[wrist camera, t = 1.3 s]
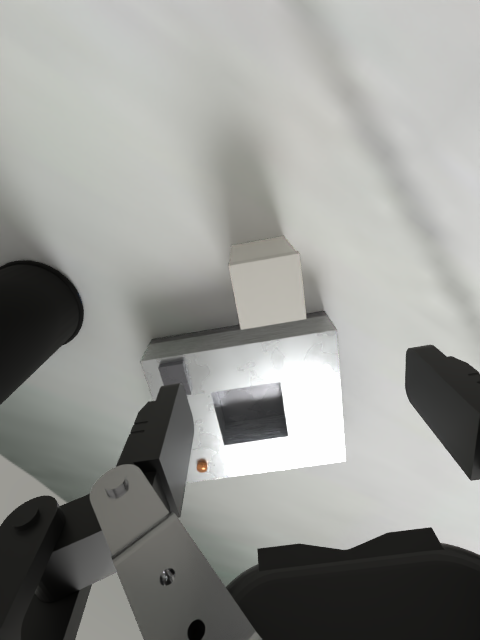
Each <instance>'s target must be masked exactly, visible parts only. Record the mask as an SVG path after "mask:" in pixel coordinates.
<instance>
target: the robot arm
mask: <svg viewBox="0 0 480 640" xmlns="http://www.w3.org/2000/svg"><path fill="white" fill-rule="evenodd" d="M405 389H406V393H407V397H408V399H409V401H410V403H411V404H412V405H413V407H414V408H415V409H416V411H417V412H418V413H419V414H420V416H421V417H422V418H423V420H424V421H425V422H426V424H427V425H428V426H429V427H430V429H431V430H432V431H433V433H434V434H435V435H436V436H437V438H438V439H439V440H440V442H441V443H442V444H443V445H444V447H445V448H446V449H447V451H448V452H449V453H450V454H451V456H452V457H453V458H454V460H455V461H456V462H457V463H458V465H459V466H460V467H461V469H462V470H463V471H464V472H465V474H466V475H467V476H468V478H469V479H470V480H479V479H480V374H479V372H478V371H477V370H475V369H474V368H473V367H472V366H470V365H469V364H468V363H466V362H463V361H461V360H459V359H457V358H454V357H452V356H450V357H447V356H445V355H444V354H443V353H442V352H441V351H439V350H438V349H437V348H436V347H435V346H433V345H426V346H420V347H413V348H409V349H408V350H407V352H406V373H405ZM130 433H131V434H130V435H129V437H128V439H127V442H126V444H125V446H124V449H123V451H122V454H121V456H120V458H119V461H118V463H117V466H116V467H115V468H112V469H111V470H109V471H107V472H106V473H104V474H103V475H102V476H101V477H100V478H99V479H98V480H97V481H96V482H95V484H94V485H93V487H92V489H91V492H90V494H88V495H86V496H84V497H81V498H79V499H76V500H74V501H71V502H69V503H66V504H64V505H62V506H59V504H58V503H57V501H56V500H55V498H53V497H51V496H40V497H36V498H33V499H31V500H29V501H27V502H25V503H24V504H22V505H20V506H19V507H18V508H16V509H15V510H14V511H13V512H12V513H11V514H10V515H9V516H8V517H7V518H6V519H5V520H4V522H3V523H2V524H1V526H0V640H75V638H76V635H77V631H78V628H79V625H80V622H81V618H82V615H83V612H84V608H85V605H86V602H87V599H88V595H89V592H90V589H91V586H92V584H93V583H95V582H97V581H99V580H101V579H103V578H106V577H107V576H109V575H112V574H114V573H116V572H117V573H118V576H119V579H120V581H121V584H122V586H123V589H124V591H125V594H126V596H127V599H128V601H129V604H130V606H131V609H132V611H133V614H134V616H135V619H136V621H137V624H138V626H139V629H140V631H141V634H142V636H143V639H144V640H480V555H478V554H476V553H474V552H471V551H469V550H466V549H463V548H460V547H457V546H453V545H449V544H444V543H440V542H439V540H438V538H437V536H436V535H435V533H434V531H433V529H432V528H422V529H414V530H406V531H398V532H390V533H386V534H384V535H381V536H379V537H377V538H375V539H372V540H370V541H368V542H365V543H363V544H361V545H358V546H356V547H354V548H351V549H348V550H340V549H333V548H326V547H319V546H312V545H305V544H293V545H285V546H277V547H269V548H261V549H258V564H257V565H255V566H253V567H251V568H249V569H248V570H246V571H244V572H243V573H241V574H240V575H239V576H238V577H236V578H235V579H234V580H233V581H232V582H231V583H230V584H229V585H228V586H227V587H225V586H224V584H223V583H222V581H221V580H220V578H219V577H218V575H217V574H216V572H215V571H214V570H213V568H212V567H211V565H210V564H209V562H208V561H207V559H206V558H205V556H204V555H203V553H202V552H201V551H200V549H199V548H198V546H197V545H196V543H195V542H194V540H193V539H192V537H191V536H190V534H189V533H188V532H187V530H186V529H185V527H184V526H183V524H182V523H181V521H180V520H179V517H180V516H181V510H182V504H183V498H184V492H185V486H186V480H187V474H188V467H189V461H190V455H191V449H192V443H193V437H194V421H193V416H192V412H191V409H190V405H189V402H188V398H187V395H186V392H185V388H184V386H183V384H182V383H178V384H171V385H165V386H161V387H160V389H159V392H158V395H157V398H156V401H151V402H148V403H147V404H146V405H145V406H144V407H143V408H142V409H141V410H140V411H139V413H138V415H137V418H136V420H135V422H134V425H133V427H132V430H131V432H130Z"/></svg>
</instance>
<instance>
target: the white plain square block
mask: <svg viewBox="0 0 480 640" xmlns="http://www.w3.org/2000/svg"><path fill="white" fill-rule="evenodd" d="M228 266H229V272H230V277H231V282H232V287H233V292H234V297H235V303H236V308H237V313H238V318H239V323H240V328H241V330H243V329H249V328H255V327H261V326H267V325H273V324H279V323H285V322H291V321H297V320H304V319H307V318H306V309H305V299H304V290H303V280H302V271H301V261H300V253H299V252H298V251H296V250H295V249H294V248H293V246H292V245H291V244H290V243H289V242H288V240H287V239H286V238H285V237H284V236H280V237H274V238H269V239H263V240H258V241H252V242H247V243H241V244H236V245H231V251H230V263H229V265H228Z"/></svg>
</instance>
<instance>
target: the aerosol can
mask: <svg viewBox="0 0 480 640" xmlns="http://www.w3.org/2000/svg"><path fill="white" fill-rule="evenodd" d="M83 316H84V310H83V305H82V301H81V299H80V296H79V294H78V292H77V290H76V289H75V287H74V286H73V285H72V283H71V282H70V281H69V280H68V279H67V278H66V277H65V276H64V275H62V274H61V273H60V272H59V271H57V270H55V269H53V268H52V267H50V266H48V265H45V264H42V263H39V262H34V261H14V262H9V263H7V264H5V265H3V266H1V267H0V405H1V404H2V403H3V402H4V401H5V400H6V399H7V398H8V397H9V396H10V395H11V394H12V393H13V392H14V391H15V390H16V389H17V388H18V387H19V386H20V385H21V384H22V383H23V382H24V381H25V380H26V379H28V378H29V377H30V376H31V375H32V374H33V373H34V372H35V371H36V370H37V369H38V368H39V367H40V366H41V365H42V364H43V363H44V362H45V361H46V360H47V359H48V358H49V357H50V356H51V355H52V354H53V353H55V352H56V351H57V350H58V349H59V348H60V347H61V346H62V345H64V344H67V343H68V342H70V341H71V340H72V339H73V338H74V337H75V336H76V335H77V334H78V332H79V330H80V329H81V326H82V322H83Z"/></svg>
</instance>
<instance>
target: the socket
mask: <svg viewBox="0 0 480 640" xmlns="http://www.w3.org/2000/svg"><path fill="white" fill-rule="evenodd" d="M306 318H307V319H304V320H297V321H291V322H285V323H279V324H273V325H267V326H261V327H255V328H249V329H243V330H241V328H240V325H236V326H230V327H224V328H218V329H212V330H206V331H200V332H194V333H188V334H182V335H176V336H170V337H164V338H158V339H152V340H151V342H150V344H149V346H148V348H147V349H146V351H145V353H144V355H143V357H142V359H141V361H140V362H141V365H142V368H143V371H144V374H145V377H146V380H147V383H148V386H149V389H150V392H151V395H152V398H153V401H156V398H157V395H158V392H159V389H160V387H161V386H165V385H171V384H178V383H182V384H183V386H184V388H185V392H186V395H187V398H188V402H189V405H190V409H191V412H192V416H193V421H194V437H193V443H192V449H191V455H190V461H189V467H188V474H187V480H186V483H191V482H198V481H206V480H213V479H220V478H227V477H234V476H242V475H249V474H256V473H263V472H271V471H278V470H285V469H292V468H300V467H307V466H314V465H321V464H329V463H336V462H343V461H346V457H345V442H344V427H343V411H342V396H341V381H340V366H339V351H338V335H337V329H336V327H335V326H334V324H333V323H332V321H331V320H330V318H329V317H328V315H327V314H326V312H325V311H321V312H315V313H309V314H306Z"/></svg>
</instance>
